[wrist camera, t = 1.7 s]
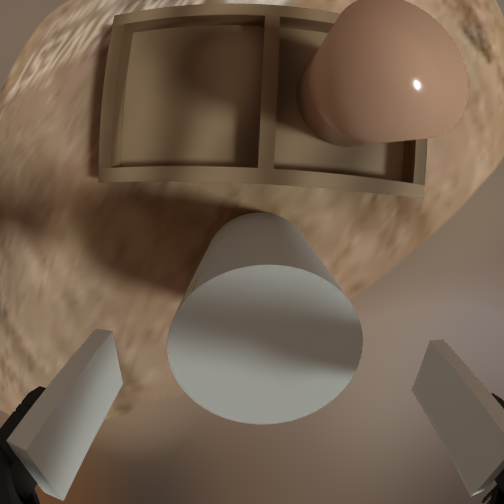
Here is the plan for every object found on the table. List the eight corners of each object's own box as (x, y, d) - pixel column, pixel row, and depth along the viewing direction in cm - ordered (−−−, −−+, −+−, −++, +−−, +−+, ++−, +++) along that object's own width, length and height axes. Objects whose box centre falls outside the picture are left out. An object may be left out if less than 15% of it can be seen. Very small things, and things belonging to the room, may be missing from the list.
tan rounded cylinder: (294, 141, 20) (330, 124, 11) (297, 51, 19) (329, -19, 9) (386, 153, 21) (469, 152, 11) (387, 67, 19) (460, 23, 9)
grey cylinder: (201, 214, 23) (152, 268, 11) (312, 211, 22) (372, 259, 11) (210, 314, 25) (183, 423, 13) (310, 310, 25) (349, 416, 13)
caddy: (113, 180, 22) (98, 182, 19) (126, 27, 18) (114, 15, 16) (407, 195, 22) (423, 199, 20) (409, 45, 18) (423, 35, 16)
